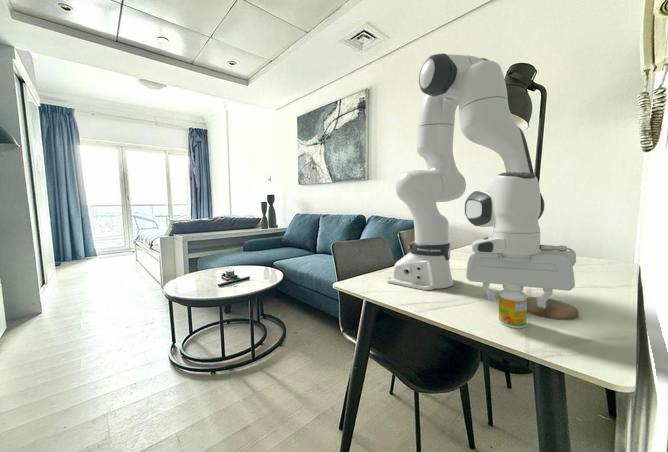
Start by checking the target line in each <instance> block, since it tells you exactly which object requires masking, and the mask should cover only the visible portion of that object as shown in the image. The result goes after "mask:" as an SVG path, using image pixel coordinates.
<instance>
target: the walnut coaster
mask: <svg viewBox="0 0 668 452" xmlns="http://www.w3.org/2000/svg"><path fill="white" fill-rule="evenodd" d="M537 298H540V297H537V296H536V297H535V296H533V297H532V296H530V297H529V296H528V297H527V313H529V314H532V315H535V316H539V317H542V318H546V319H547V318H548V319H553V320H554V319H555V320H573V319H576V318H578V317H579V313H580V311H579V309H578V308H577V307H576V306H574V305H572V304H570V303H568V302H565V301H562V300H557V299H553V298H549V299H548V300H547V301H546V308H539V307H537V304H536V302H537Z"/></svg>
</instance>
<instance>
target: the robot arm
mask: <svg viewBox="0 0 668 452" xmlns="http://www.w3.org/2000/svg"><path fill="white" fill-rule="evenodd" d="M506 84H507V83H506V79H505V75H504V72H503V70H502V67H501V65H500V64H499V63H498V62H496V61H495V60H489V59H487V58H485V57H481V58H480V57H477V56H473V55H469V54H446V53H437V54H436V53H435V54H432V55H430V56H429V57H427V59H426V60H425V61H424V63H423V64H422V66H421V67H420V72H419V75H418V85H419V88H420V91H421V92H422V93H423V94H424V95H425V96H424V97H423V99H422V102H421V105H420V110H419V117H418V126H417V127H418V128H417V142H416V151H417V154H418V155H419V156H420V157H422V158H423V159H424V161H425V163H426V166H427V169H415V170H410V171H407V172H403V173H401V174H400V175H399V176H398V178H397V180H396V183H395V192H396V195H397V197H398V198H399V200H401V201H402V202H403V203H404V204H405V205H406V206H407V208H408V209H409V211H410V214H411V217H412V221H413V228H414V241H412V242H410V243H409V245H408V250H409V251H408V253H407V254H406V255H404V256H403V257H401V258H400V259H399V260H397V261H396V262H395V264H394V266H393V270H392V271H393V272H392V273H390V274H389V275H387V277H386V282H387V283H388V284H393V285H398V286H403V287H408V288H413V289H419V290H421V291H422V290H423V291H431V290H436V289H446V288H449V287H452V286H454V285H455V284H454V280H453V276H452V272H451V266H450V259H451V243H450V242H449V220H448V218H447V217H446V216H444V215H443V214H441V212H440V211H439V209H438V206H437V203H447V202H452V201H454V200H457V199H459V198H461V197H462V196H463V195H464V194H465V191H466V189H467V181H466V179H465V176H463V174H462V173H461V172H460V171H459V168H457V163H456V160H455V158H454V135H455V133H454V132H455V120H456V110H457V108H458V113H459V114H458V116H459V127H460V130H461V132H462V134H463V136H464V137H465V138H466V139H467V140H469V141H470V142H472V143H474V144H476V145H479V146H482V147H485V148H488V149H489V150H491V151H493V152H495V153H497V154H498V155H499V156H500V158H501V159H502V161H503V164H504V169H505V172H501V173H498V174H496V176H495V177H494V179H493V181H492V182H490V183H489V184H488V185H487V186H484V187H482V188H481V189H478V190H475V191H473V192H471V194H469V196H468V197H467V198H466V200H465V202H464V214H465V218H466V219H467V220H468V222H469V223H471V225H473V226H475V227H480V228H489V227H490V228H491V227H493V229H492V235H490V236H486V237H484V238H483V237H482V238H478V239H476V240H474V241H473V242H472V243H471V250H472V251H471V253H469V256H468V258H467V262H466V271H465V272H466V273H465V277H466V279H467V280H468V281H469V282H474V283H482V288H483V290H484V291H485V293H486V295H487V302H493V303H495V302H496V293H495V292H492V291H491V290H490V284H493V285H494V284H495V285H502V286H503V285H517V286H524V287H527V288H537V289H542V291H543V294H542V296H541V297H539V298H537V302H536V304H537V307H539V308H546V301H547V300H548V299H551V298H550V297H551V296H552V295H553V290H557V291H567V292H568V291H571V290H572V289H574V288H575V286H576V285H575V284H576V283H575V280H576V279H575V272H574V266H575V265H576V263H577V253H576V252H575V251H574V249H572V248H570V247H568V246H567V245H551V244H550V245H549V244H541V227H540V224H539V220H540V218H542V216H543V214H544V211H545V200H544V197H543V194H542V193H541V188H540V184H539V180H538V177H537V176H536V175H535V172H534V168H533V163H532V159H531V158H532V157H531V156H530V151H529V147H528V142H527V140H526V135H525V134H524V131H523V130H522V129H521V127H520V126H518V124H517V123H516V122H515V120H514V118H513V115H512V113H511V110H510V106H509V98H508V89H507V85H506Z"/></svg>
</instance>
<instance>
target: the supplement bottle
mask: <svg viewBox="0 0 668 452" xmlns="http://www.w3.org/2000/svg"><path fill="white" fill-rule="evenodd" d="M523 291H524V286H517V285H503V284H502V290H500V291H499V293H498V321H499V323H500V324H502V325H503V326H506V327H508V328H512V329H522V328H523V329H524V328H525V327H526V326H527V313H528V312H527V294H526V293H525V292H523Z"/></svg>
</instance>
